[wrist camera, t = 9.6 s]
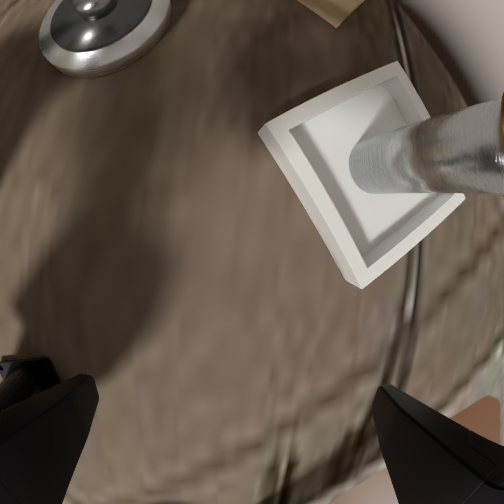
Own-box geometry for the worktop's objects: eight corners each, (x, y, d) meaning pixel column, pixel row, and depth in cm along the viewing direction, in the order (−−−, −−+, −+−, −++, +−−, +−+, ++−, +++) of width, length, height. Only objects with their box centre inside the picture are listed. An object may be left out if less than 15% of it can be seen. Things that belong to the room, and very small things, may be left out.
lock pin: (339, 191, 20) (529, 186, 6) (347, 125, 19) (516, 55, 5) (394, 206, 20) (569, 220, 7) (401, 145, 20) (564, 115, 6)
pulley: (47, 97, 16) (20, 79, 12) (53, 4, 14) (36, -20, 10) (178, 56, 17) (174, 26, 13) (166, -31, 15) (164, -62, 11)
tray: (345, 280, 21) (361, 289, 19) (257, 133, 19) (265, 123, 16) (445, 198, 22) (465, 198, 20) (380, 71, 19) (397, 60, 17)
